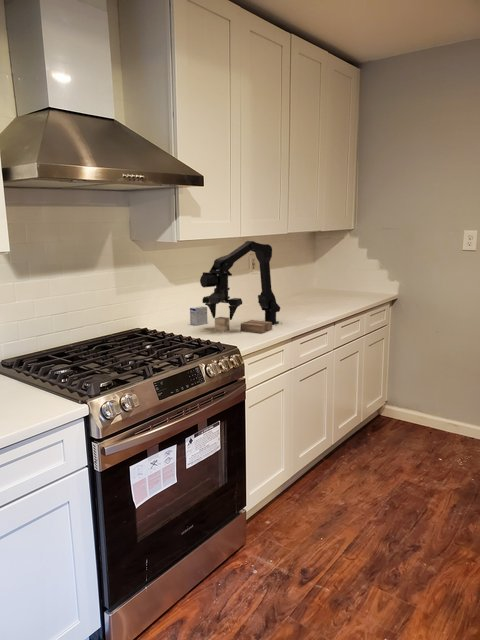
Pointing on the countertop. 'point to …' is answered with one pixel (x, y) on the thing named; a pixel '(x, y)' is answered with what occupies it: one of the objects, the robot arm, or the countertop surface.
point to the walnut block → (256, 326)
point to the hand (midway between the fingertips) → (222, 318)
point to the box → (198, 315)
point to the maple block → (222, 324)
